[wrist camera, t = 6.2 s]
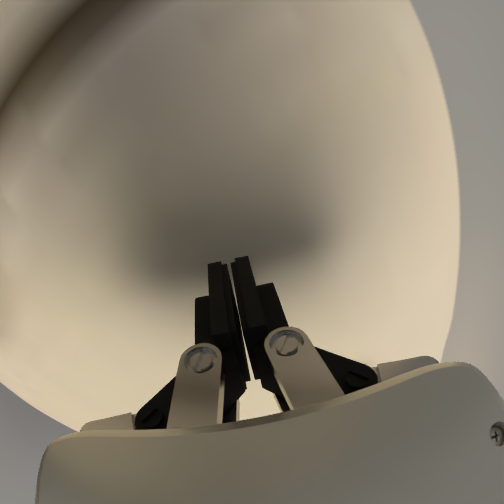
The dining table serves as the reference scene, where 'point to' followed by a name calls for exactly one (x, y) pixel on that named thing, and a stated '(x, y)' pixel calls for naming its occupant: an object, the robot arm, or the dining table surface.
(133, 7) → the dining table surface
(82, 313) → the dining table surface
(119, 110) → the dining table surface
